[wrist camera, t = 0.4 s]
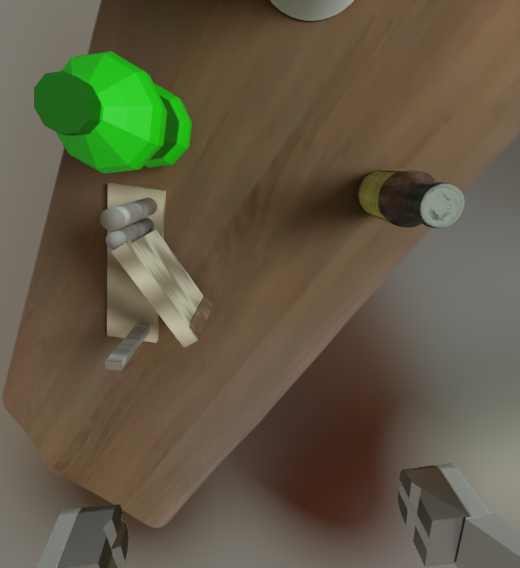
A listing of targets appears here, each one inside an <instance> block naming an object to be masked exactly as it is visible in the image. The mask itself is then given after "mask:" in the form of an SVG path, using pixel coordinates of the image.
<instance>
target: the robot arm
mask: <svg viewBox="0 0 520 568" xmlns="http://www.w3.org/2000/svg"><path fill="white" fill-rule="evenodd" d="M270 1H271V2H272V4H273V5H274V6H275V7H277V8H278V9H279V10H280V11H282V12H283V13H285V14H287V15H288V16H291V17H293V18H296V19H299V20H305V21H317V20H322V19H326V18H329V17H332V16H334V15H336V14H338V13H339V12H341V11H343V10H344V9H345V8H347V7H348V6H349V5H350V4H351V3H352V2H353V1H354V0H270ZM399 479H400V481H401V483H402V486H401V487H400V488H399V489H398V503H399V509H400V512H401V515H402V518H403V520H404V522H405V525H406V526H407V527H408V528H410V529H411V530H412V531H413V532H414V539H413V542H414V544H415V546H416V548H417V550H418V553H419V555H420V557H421V559H422V561H423V564H424V566H435V565H444V564H454V563H456V566H457V567H458V568H520V530H518V529H517V528H515V527H514V526H512V525H511V524H509V523H508V522H506V521H505V520H503V519H502V518H500V517H499V516H497V515H496V514H491V515H490V514H489V513H488V511H487V510H486V508H485V507H484V506H483V504H482V503H481V501H480V500H479V498H478V497H477V496H476V494H475V493H474V491H473V490H472V488H471V487H470V486H469V484H468V483H467V481H466V480H465V478H464V477H463V476H462V474H461V473H460V471H459V470H458V468H457V467H456V466H455V465H454V464H444V465H436V466H434V465H432V466H424V467H417V468H410V469H402V471H401V472H400V478H399ZM122 515H123V510H122V508H121V505H120V504H117V505H106V506H95V507H84V508H75V509H66V510H64V511H63V512H62V513H61V514H60V515H59V517H58V520H57V522H56V524H55V526H54V528H53V531H52V533H51V535H50V538H49V540H48V542H47V545H46V547H45V549H44V551H43V554H42V556H41V558H40V560H39V563H38V565H37V567H36V568H120V567H121V566H122V565H123V563H124V562H125V560H126V556H127V551H128V540H129V535H128V528H127V524H126V523H125V522H124V521H122V520H121V518H122Z"/></svg>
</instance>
